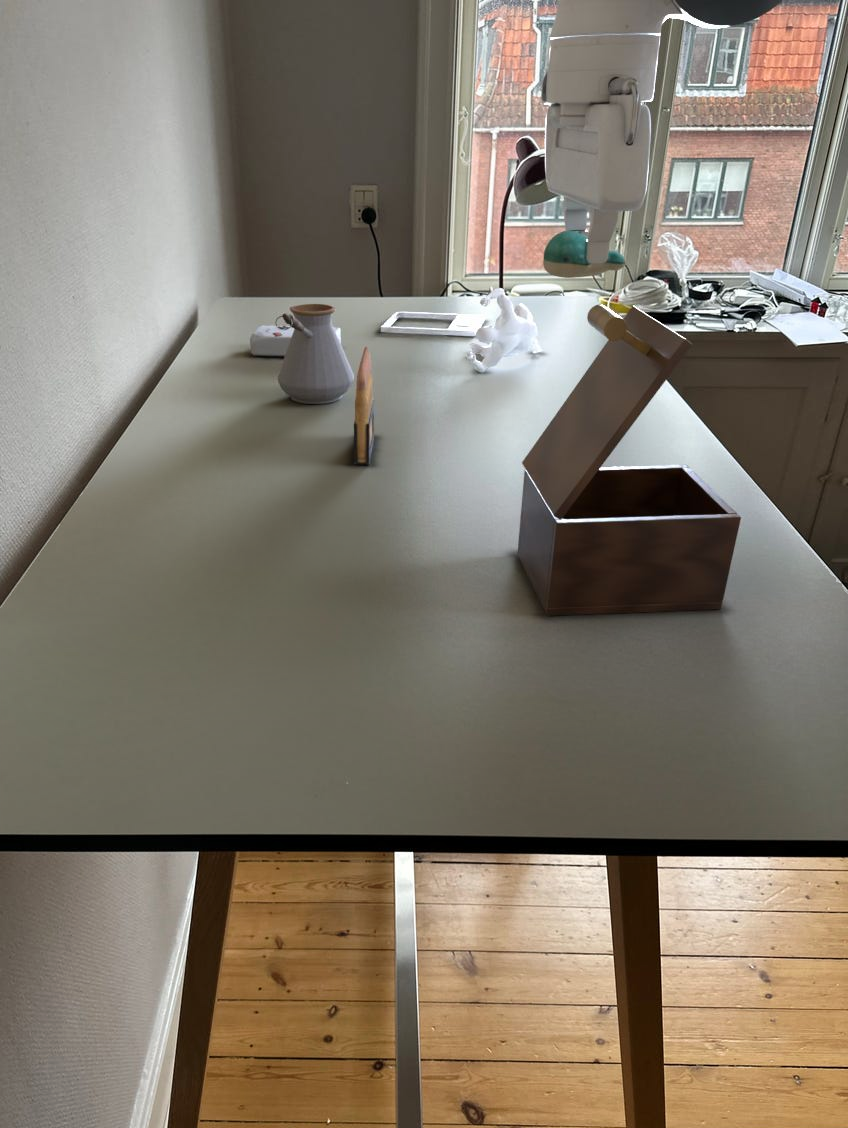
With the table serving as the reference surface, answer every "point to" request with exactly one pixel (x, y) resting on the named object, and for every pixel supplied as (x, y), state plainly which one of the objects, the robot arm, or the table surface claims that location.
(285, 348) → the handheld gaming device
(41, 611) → the table surface
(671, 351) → the compartment lid
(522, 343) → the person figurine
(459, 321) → the photo frame
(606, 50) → the robot arm
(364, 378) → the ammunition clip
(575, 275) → the whale figurine
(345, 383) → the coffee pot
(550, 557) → the compartment
